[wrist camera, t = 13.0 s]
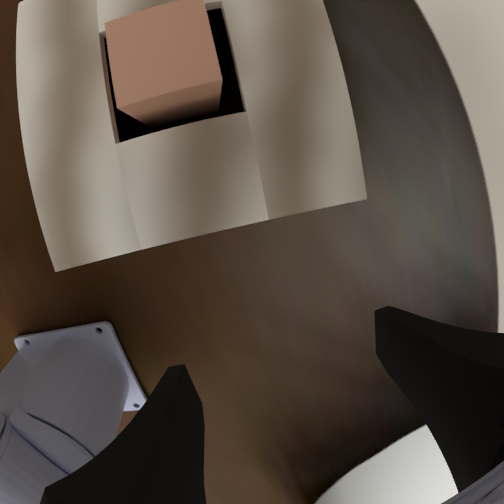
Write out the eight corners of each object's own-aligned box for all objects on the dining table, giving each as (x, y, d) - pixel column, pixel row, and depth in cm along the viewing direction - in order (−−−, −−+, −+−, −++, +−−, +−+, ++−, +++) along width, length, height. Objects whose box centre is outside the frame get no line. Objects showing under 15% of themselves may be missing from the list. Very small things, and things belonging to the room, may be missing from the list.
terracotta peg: (151, 127, 17) (116, 108, 10) (139, 68, 15) (104, 22, 9) (218, 110, 17) (222, 79, 10) (205, 51, 16) (203, -5, 9)
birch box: (85, 248, 18) (55, 272, 14) (49, 26, 13) (18, 3, 9) (333, 190, 19) (366, 199, 15) (280, -31, 14) (296, -67, 10)
